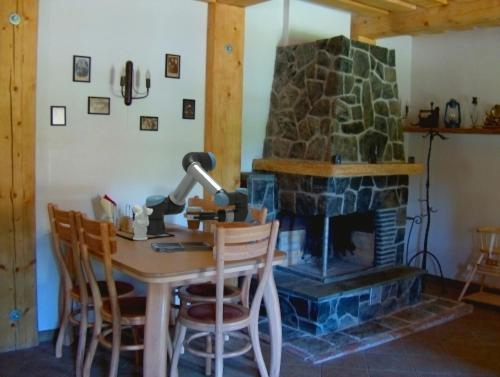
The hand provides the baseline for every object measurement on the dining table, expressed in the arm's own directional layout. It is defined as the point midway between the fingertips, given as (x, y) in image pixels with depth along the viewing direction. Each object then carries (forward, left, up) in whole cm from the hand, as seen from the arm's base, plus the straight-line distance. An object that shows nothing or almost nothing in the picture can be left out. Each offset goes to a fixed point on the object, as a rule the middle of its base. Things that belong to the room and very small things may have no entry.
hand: (185, 216), depth 320 cm
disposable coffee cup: (0, +5, -7) cm, 9 cm away
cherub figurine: (-31, -18, -18) cm, 40 cm away
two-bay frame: (0, -2, -18) cm, 18 cm away
